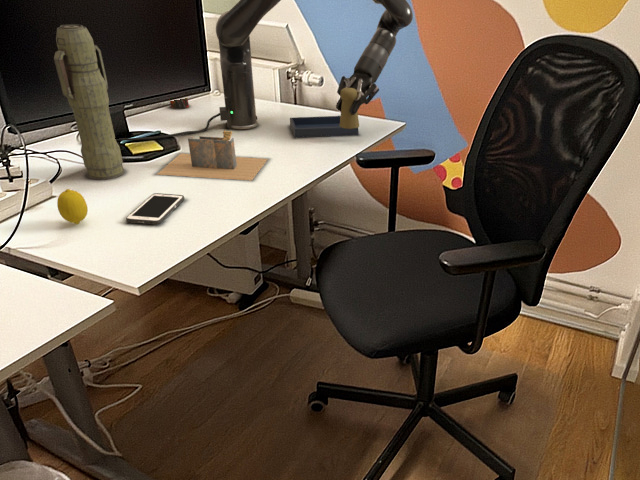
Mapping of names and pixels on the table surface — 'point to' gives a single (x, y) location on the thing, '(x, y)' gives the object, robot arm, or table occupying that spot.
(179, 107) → the black red jagged block
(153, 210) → the cell phone
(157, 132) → the table surface
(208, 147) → the architectural model on board
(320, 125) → the pan
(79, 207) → the lemon
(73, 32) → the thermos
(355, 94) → the cork
